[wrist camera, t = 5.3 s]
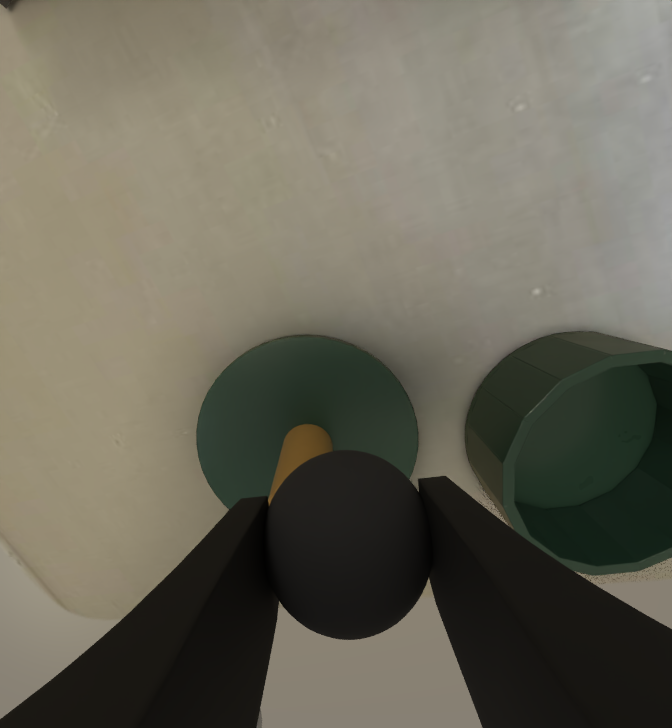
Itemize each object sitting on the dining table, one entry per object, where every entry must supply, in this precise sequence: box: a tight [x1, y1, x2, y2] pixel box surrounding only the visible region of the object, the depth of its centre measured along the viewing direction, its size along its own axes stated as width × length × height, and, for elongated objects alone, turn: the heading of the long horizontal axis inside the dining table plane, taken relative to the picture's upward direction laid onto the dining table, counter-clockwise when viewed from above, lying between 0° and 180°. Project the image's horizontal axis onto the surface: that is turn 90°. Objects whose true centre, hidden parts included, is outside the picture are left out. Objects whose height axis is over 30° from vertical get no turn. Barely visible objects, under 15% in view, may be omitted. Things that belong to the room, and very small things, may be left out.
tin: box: [465, 332, 672, 576], centre depth 17 cm, size 10×10×4 cm
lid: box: [197, 335, 418, 510], centre depth 16 cm, size 11×11×6 cm
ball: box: [264, 450, 433, 640], centre depth 8 cm, size 4×4×4 cm
